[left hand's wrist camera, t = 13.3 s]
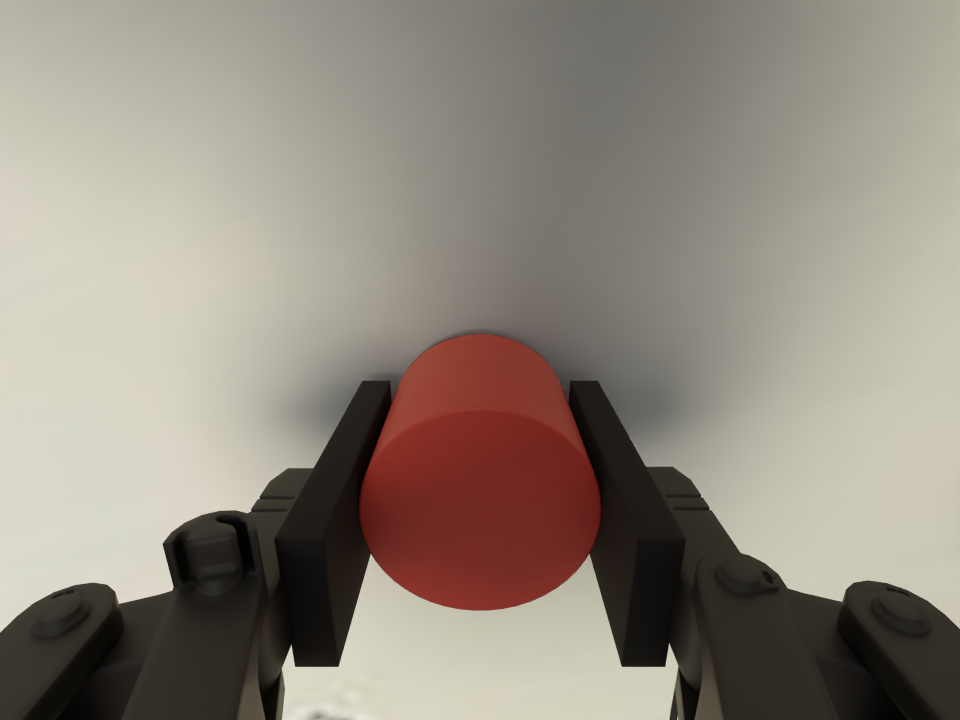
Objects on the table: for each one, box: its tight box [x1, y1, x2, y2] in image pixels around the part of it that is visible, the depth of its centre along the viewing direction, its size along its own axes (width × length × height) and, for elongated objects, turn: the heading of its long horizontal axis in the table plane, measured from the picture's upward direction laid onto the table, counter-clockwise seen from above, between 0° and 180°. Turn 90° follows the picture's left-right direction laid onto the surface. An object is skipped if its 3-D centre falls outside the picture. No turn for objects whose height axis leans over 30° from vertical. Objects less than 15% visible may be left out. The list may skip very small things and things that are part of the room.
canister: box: [359, 334, 602, 610], centre depth 13 cm, size 5×5×5 cm
